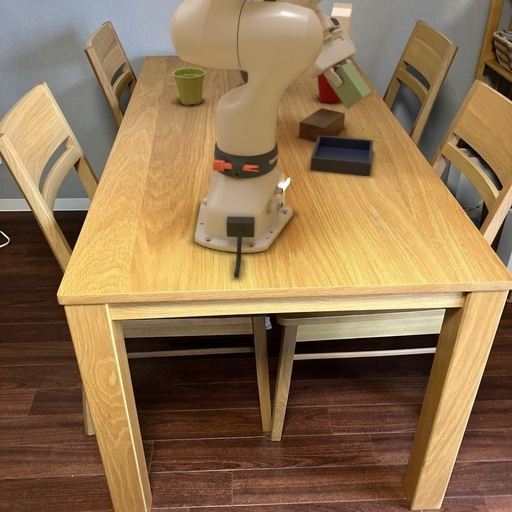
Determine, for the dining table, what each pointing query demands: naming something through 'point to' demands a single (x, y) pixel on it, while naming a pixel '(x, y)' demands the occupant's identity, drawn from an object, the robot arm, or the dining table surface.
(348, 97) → the green box
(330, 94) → the plastic cup
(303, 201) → the dining table surface
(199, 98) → the plant pot
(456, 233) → the dining table surface
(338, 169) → the tray
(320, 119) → the walnut block
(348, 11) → the milk
